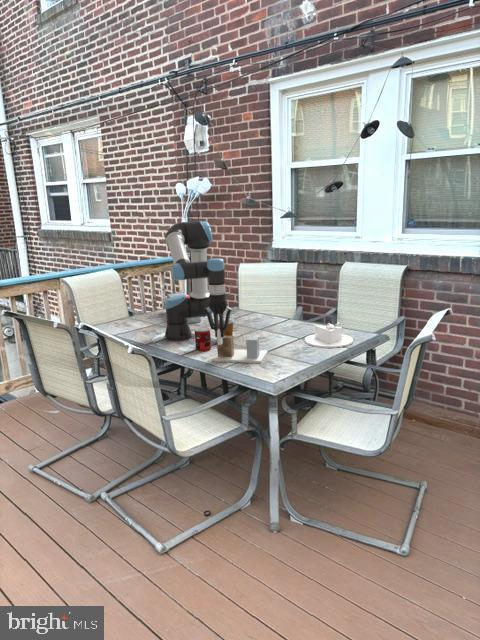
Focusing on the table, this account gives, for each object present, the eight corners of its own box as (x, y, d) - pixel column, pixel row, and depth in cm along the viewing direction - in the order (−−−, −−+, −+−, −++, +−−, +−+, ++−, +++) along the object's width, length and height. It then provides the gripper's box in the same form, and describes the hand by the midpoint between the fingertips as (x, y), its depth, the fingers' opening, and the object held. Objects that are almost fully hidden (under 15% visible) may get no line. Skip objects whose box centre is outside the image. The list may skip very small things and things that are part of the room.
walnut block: (217, 357, 221) (216, 337, 219) (220, 355, 225) (219, 335, 222) (231, 358, 219) (230, 338, 217) (234, 355, 223) (233, 335, 221)
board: (211, 360, 220) (211, 358, 220) (221, 350, 235) (221, 348, 235) (261, 363, 214) (260, 361, 214) (267, 352, 229) (267, 350, 229)
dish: (362, 340, 243) (362, 319, 240) (334, 351, 226) (334, 329, 224) (323, 332, 260) (323, 313, 258) (295, 342, 244) (295, 322, 241)
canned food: (195, 347, 242) (194, 327, 239) (211, 346, 243) (209, 326, 240) (195, 352, 235) (194, 331, 232) (211, 351, 235) (210, 330, 233)
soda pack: (167, 313, 326) (166, 293, 323) (185, 310, 331) (184, 291, 328) (182, 325, 290) (180, 304, 286) (201, 323, 294) (200, 301, 291)
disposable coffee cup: (237, 337, 256) (236, 316, 254) (231, 342, 248) (230, 321, 245) (221, 337, 260) (220, 316, 257) (215, 341, 251) (213, 320, 248)
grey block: (247, 358, 219) (246, 339, 217) (249, 354, 224) (248, 336, 221) (257, 358, 218) (256, 340, 215) (259, 355, 222) (258, 337, 220)
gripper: (200, 295, 205) (204, 345, 211) (228, 295, 202) (231, 346, 207) (206, 291, 212) (209, 341, 218) (233, 291, 209) (236, 342, 214)
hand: (220, 343), depth 213 cm, fingers closed
